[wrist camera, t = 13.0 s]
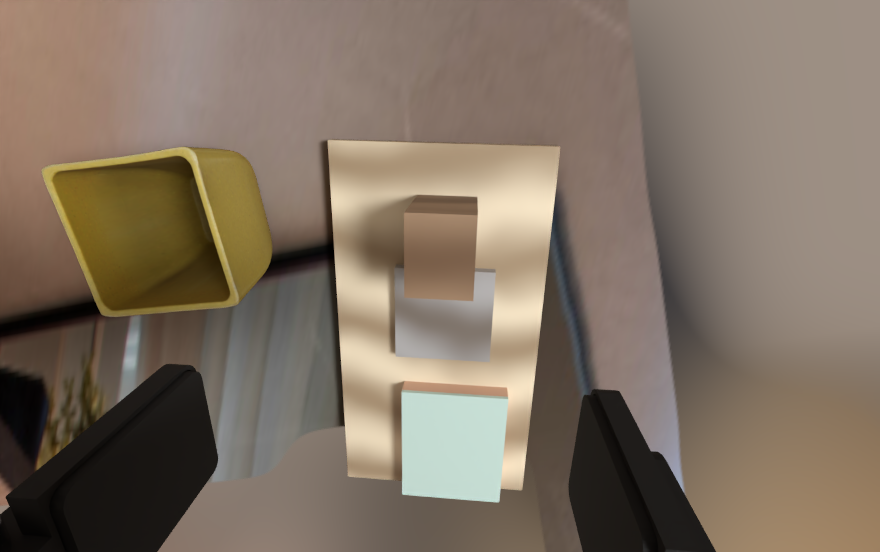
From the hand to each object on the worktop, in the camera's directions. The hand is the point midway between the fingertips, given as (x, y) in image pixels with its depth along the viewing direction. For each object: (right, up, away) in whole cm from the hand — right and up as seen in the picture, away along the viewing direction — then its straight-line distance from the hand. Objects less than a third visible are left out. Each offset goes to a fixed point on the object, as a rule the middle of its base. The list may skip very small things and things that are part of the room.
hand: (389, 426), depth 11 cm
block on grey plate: (+2, +3, +21) cm, 21 cm away
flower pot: (-14, +9, +22) cm, 27 cm away
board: (+1, -1, +23) cm, 23 cm away
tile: (+2, -5, +23) cm, 23 cm away
